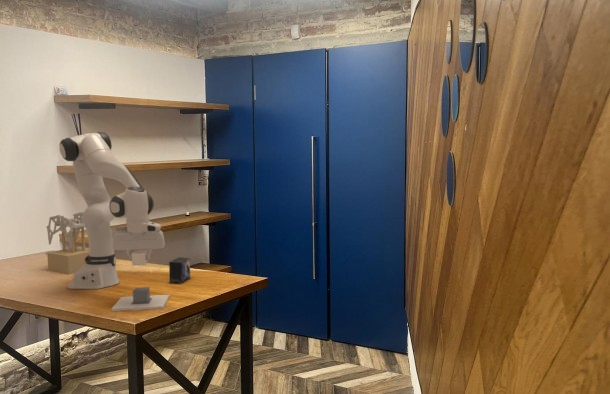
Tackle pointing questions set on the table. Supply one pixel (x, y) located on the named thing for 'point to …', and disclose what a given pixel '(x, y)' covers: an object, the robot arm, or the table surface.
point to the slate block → (141, 295)
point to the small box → (179, 270)
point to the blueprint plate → (153, 303)
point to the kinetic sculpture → (74, 256)
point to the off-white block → (139, 258)
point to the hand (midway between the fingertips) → (139, 260)
